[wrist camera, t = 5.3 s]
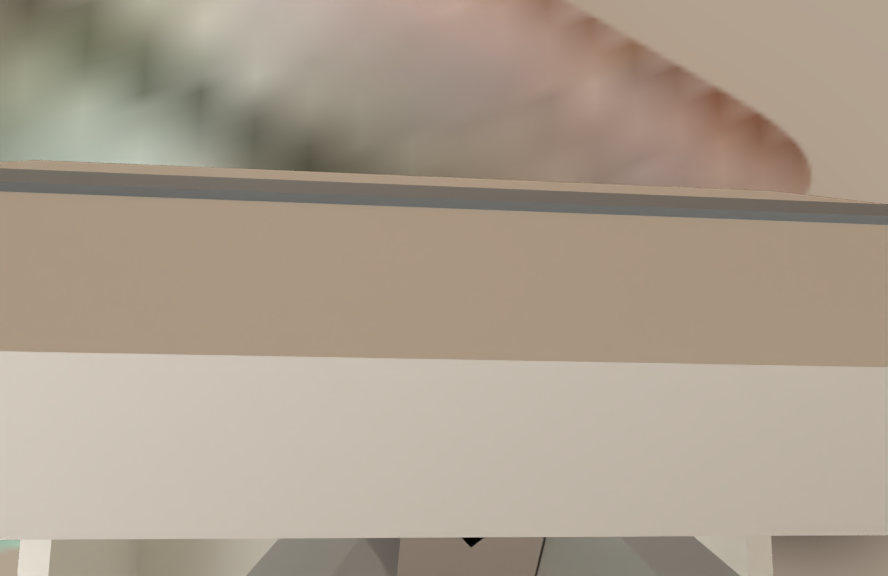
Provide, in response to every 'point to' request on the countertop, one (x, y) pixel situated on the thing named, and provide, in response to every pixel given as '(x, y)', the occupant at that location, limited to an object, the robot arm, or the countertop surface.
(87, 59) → the countertop surface
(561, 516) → the mailer lid
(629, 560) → the robot arm
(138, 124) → the countertop surface
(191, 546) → the box
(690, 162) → the countertop surface
